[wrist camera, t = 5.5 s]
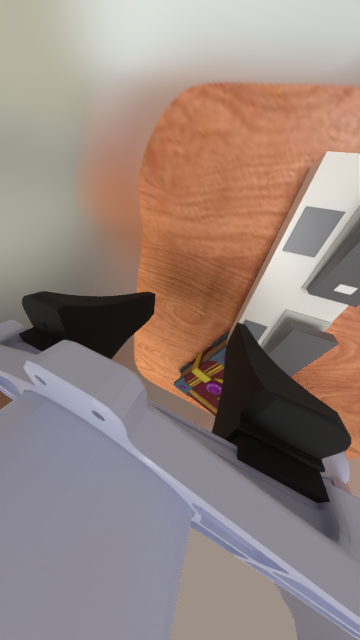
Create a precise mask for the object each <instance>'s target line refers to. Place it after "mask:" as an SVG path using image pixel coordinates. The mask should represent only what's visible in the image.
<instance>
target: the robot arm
mask: <svg viewBox="0 0 360 640" xmlns="http://www.w3.org/2000/svg"><path fill="white" fill-rule="evenodd" d="M22 305H23V308H24V310H25V312H26V314H27V316H28V317H29V319H30V321H31V323H32V325H33V328H31V329H27V328H26V327H25V326H23V325H22V324H19V323H18V322H16V321H14V320H10V321H7V322H4V323H1V324H0V390H1V391H2V392H3V393H5V394H6V395H7V396H9V397H10V398H11V399H13V401H12V402H11V403H9V404H8V405H6V406H5V407H4V408H2V409H1V410H0V640H170V636H171V630H172V624H173V618H174V613H175V608H176V602H177V596H178V591H179V585H180V579H181V574H182V568H183V563H184V557H185V551H186V545H187V540H188V534H189V529H190V527H192V528H193V529H195V530H196V531H198V532H199V533H201V534H202V535H204V536H206V537H207V538H208V539H210V540H211V541H213V542H215V543H216V544H217V545H219V546H220V547H222V548H223V549H225V550H226V551H228V552H229V553H231V554H233V555H234V556H236V557H237V558H239V559H240V560H242V561H243V562H245V563H246V564H248V565H249V566H251V567H252V568H254V569H255V570H257V571H258V572H260V573H262V574H263V575H264V576H266V577H267V578H269V579H270V580H272V581H273V582H274V584H275V585H276V587H277V589H278V591H279V592H280V594H281V596H282V598H283V600H284V601H285V603H286V605H287V607H288V609H289V610H290V612H291V614H292V616H293V619H294V621H295V626H296V632H297V639H298V640H360V499H359V498H358V497H355V496H354V495H353V494H352V492H351V490H350V488H349V486H348V485H347V482H348V480H349V476H350V469H349V463H348V459H347V456H346V454H345V452H344V451H345V450H347V449H348V447H349V446H350V445H351V437H350V435H349V433H348V431H347V429H346V428H345V426H344V424H343V422H342V420H341V418H340V417H339V415H338V413H337V412H336V411H334V410H333V409H332V408H330V407H329V406H327V405H326V404H325V403H323V402H322V401H320V400H319V399H318V398H316V397H315V396H313V395H312V394H311V393H309V392H308V391H307V390H305V389H304V388H303V387H302V386H300V385H299V384H298V383H297V382H295V381H294V380H293V379H292V378H291V377H290V376H288V375H287V374H286V373H285V372H284V371H283V370H282V369H281V368H280V367H279V366H278V365H277V364H276V363H275V362H274V361H273V360H272V359H271V358H270V357H269V356H268V355H267V354H266V352H265V351H264V350H263V349H262V347H261V346H260V345H259V344H258V342H257V341H256V339H255V338H254V336H253V335H252V333H251V332H250V330H249V329H248V327H247V326H246V325H245V324H242V323H239V322H237V324H236V326H235V328H234V330H233V332H232V334H231V336H230V338H229V340H228V342H227V346H226V351H225V363H224V376H223V383H222V389H221V394H220V399H219V404H218V408H217V413H216V418H215V422H214V426H213V430H212V433H211V432H209V431H208V430H205V429H204V428H202V427H200V426H198V425H196V424H194V423H192V422H191V421H189V420H187V419H185V418H183V417H181V416H179V415H177V414H176V413H174V412H172V411H170V410H168V409H166V408H164V407H162V406H160V405H159V404H157V403H155V402H153V401H151V400H149V399H147V393H146V390H145V386H144V383H143V382H142V381H141V380H140V379H139V377H138V376H137V375H136V374H135V373H133V372H132V371H131V370H129V369H127V368H126V367H125V366H123V365H121V364H119V363H117V362H115V361H113V360H111V359H112V358H113V356H114V355H115V354H116V353H117V351H118V350H119V349H120V348H121V347H122V345H123V344H124V343H125V342H126V341H127V340H128V339H129V338H130V337H131V336H132V335H133V334H134V333H135V332H136V331H137V330H139V329H140V328H141V327H142V326H143V325H144V324H145V323H146V322H147V321H148V320H149V319H150V318H151V317H152V315H153V314H154V305H155V294H154V293H151V292H141V293H134V294H127V295H118V296H103V297H97V296H76V295H67V294H59V293H52V292H46V291H45V292H38V293H34V294H30V295H27V296H24V297H23V299H22Z"/></svg>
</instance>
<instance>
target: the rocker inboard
mask: <svg viewBox="0 0 360 640" xmlns="http://www.w3.org/2000/svg"><path fill="white" fill-rule="evenodd" d="M336 345H338V342H337V341H336V339H335V337H334V336H333V335H332V334H329V333H326V332H323V331H320V330H316V329H313V328H310V327H307V326H304V325H300V324H297V323H294V322H290V324H289V325H288V326H287V327H286V328H285V329H284V330H283V331H282V332H281V333H280V334H279V335H278V336H277V338H276V339H275V340H274V341H273V342H272V343H271V344H270V345H269V346H268V347H267V348H266V349H265V352H266V354H267V355H268V356H269V357H270V358H271V359H272V360H273V361H274V362H275V363H276V364H277V365H278V366H279V367H280V368H281V369H282V370H283V371H284V372H285V373H286V374H287V375H288V376H292V375H293V374H295V373H296V372H298V371H299V370H301V369H302V368H304V367H305V366H307V365H308V364H310V363H311V362H313V361H314V360H316V359H317V358H319V357H320V356H321V355H323V354H324V353H326V352H327V351H329V350H330V349H332V348H333V347H335V346H336Z"/></svg>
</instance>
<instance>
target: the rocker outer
mask: <svg viewBox="0 0 360 640" xmlns="http://www.w3.org/2000/svg"><path fill="white" fill-rule="evenodd" d="M307 291H308V293H309V294H310V295H313V296H317V297H321V298H325V299H328V300H332V301H336V302H339V303H343V304H347V305H351V306H354V307H357V306H358V305H359V304H360V229H359V230H358V231H357V232H356V233H355V234H354V235H353V237H352V238H351V239H350V240H349V241H348V242H347V243H346V244H345V245H344V246H343V248H342V249H341V250H340V251H339V252H338V253H337V254H336V255H335V256H334V258H333V259H332V260H331V261H330V262H329V263H328V264H327V265H326V266H325V267H324V269H323V270H322V271H321V272H320V273H319V274H318V275H317V276H316V277H315V278H314V280H313V281H312V282H311V283H310V284H309V286H308V287H307Z"/></svg>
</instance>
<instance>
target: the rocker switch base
mask: <svg viewBox="0 0 360 640" xmlns="http://www.w3.org/2000/svg"><path fill="white" fill-rule="evenodd" d="M359 229H360V154H357V153H343V152H329V151H327V152H326V153H325V154H324V155H323V156H322V157H321V158H320V159H319V160H318V161H317V162H316V163H315V164H314V165H313V166H312V167H311V168H310V169H309V171H308V173H307V175H306V177H305V179H304V181H303V183H302V186H301V188H300V190H299V192H298V194H297V196H296V198H295V200H294V202H293V204H292V206H291V208H290V210H289V212H288V214H287V216H286V218H285V220H284V222H283V224H282V226H281V228H280V230H279V232H278V234H277V236H276V238H275V240H274V242H273V244H272V246H271V249H270V251H269V253H268V255H267V257H266V259H265V261H264V263H263V265H262V267H261V269H260V271H259V273H258V275H257V277H256V279H255V281H254V283H253V285H252V287H251V289H250V291H249V293H248V295H247V297H246V299H245V301H244V303H243V305H242V307H241V309H240V312H239V314H238V316H237V318H236V320H235V322H234V324H233V326H232V328H231V330H230V332H229V336H228V338H227V342H228V340H229V338H230V336H231V334H232V332H233V330H234V328H235V326H236V324H237V322H239V323H242V324H245V325H246V326H247V327H248V329H249V330H250V332H251V333H252V335H253V336H254V338H255V339H256V341H257V342H258V344H259V345H260V346H261V347H262V349H263V350H264V351H265V349H266V348H267V347H268V346H269V345H270V344H271V343H272V342H273V341H274V340H275V339H276V338H277V336H278V335H279V334H280V333H281V332H282V331H283V330H284V329H285V328H286V327H287V326H288V325H289V324H290V322H294V323H297V324H300V325H304V326H307V327H310V328H313V329H316V330H320V331H323V332H324V331H325V330H326V329H327V328H328V327H329V326H330V325H331V324H332V322H333V321H334V320H335V319H336V318H337V317H338V316H339V315H340V314H341V313H342V312H343V311H344V310H345V309H346V308H347V307H348V306H349V305H347V304H343V303H339V302H336V301H332V300H328V299H325V298H321V297H317V296H313V295H310V294H309V293H308V291H307V287H308V286H309V284H310V283H311V282H312V281H313V280H314V278H315V277H316V276H317V275H318V274H319V273H320V272H321V271H322V270H323V269H324V267H325V266H326V265H327V264H328V263H329V262H330V261H331V260H332V259H333V258H334V256H335V255H336V254H337V253H338V252H339V251H340V250H341V249H342V248H343V246H344V245H345V244H346V243H347V242H348V241H349V240H350V239H351V238H352V237H353V235H354V234H355V233H356V232H357V231H358V230H359ZM226 345H227V344H226Z"/></svg>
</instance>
